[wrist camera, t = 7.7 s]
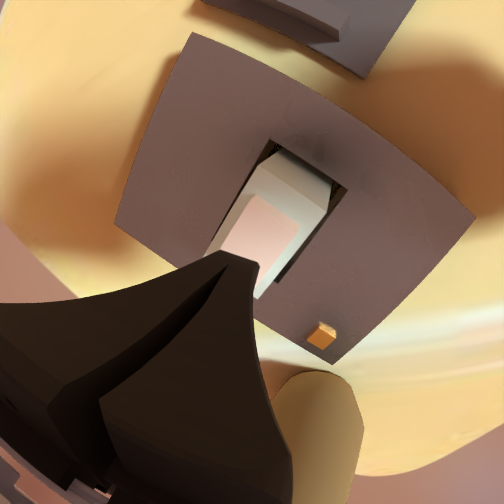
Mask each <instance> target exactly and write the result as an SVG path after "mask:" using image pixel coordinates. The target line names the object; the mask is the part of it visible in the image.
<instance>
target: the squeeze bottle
mask: <svg viewBox="0 0 504 504" xmlns="http://www.w3.org/2000/svg"><path fill="white" fill-rule="evenodd" d="M270 403H271V406H272V408H273V411H274V414H275V417H276V419H277V422H278V424H279V427H280V429H281V432H282V434H283V436H284V438H285V441H286V443H287V445H288V447H289V449H290V452H291V454H292V463H293V498H292V504H346V503H347V499H348V496H349V493H350V488H351V485H352V481H353V477H354V474H355V469H356V465H357V461H358V457H359V452H360V448H361V443H362V438H363V433H364V425H363V420H362V416H361V413H360V411H359V408H358V405H357V402H356V399H355V396H354V394H353V391H352V388H351V386H350V385H349V384H348V383H347V382H346V381H345V380H344V379H343V378H340V377H338V376H336V375H334V374H332V373H326V372H320V371H312V372H302V373H300V374H297V375H295V376H292V377H291V378H290V379H289V380H288V381H287V382H286V383H285V384H284V385H283V386H282V388H281V389H280V390H279V391H278V393H277V394H276V395H275V396H274V397H273V399H272V400H271V401H270Z"/></svg>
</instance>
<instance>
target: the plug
mask: <svg viewBox="0 0 504 504" xmlns="http://www.w3.org/2000/svg"><path fill="white" fill-rule="evenodd" d="M331 185H332V178H330V177H329V176H327V175H326V174H324V173H323V172H321V171H320V170H318V169H317V168H315V167H314V166H312V165H311V164H309V163H308V162H306V161H305V160H303V159H302V158H300V157H299V156H297V155H295V154H294V153H292V152H291V151H289V150H287V149H286V148H284V147H283V148H282V149H281V150H279V151H278V152H276V153H275V154H273V155H272V156H270V157H269V158H268V159H266V160H265V161H263V162H262V163H261V164H259V165H258V166H257V168H256V170H255V171H254V173H253V174H252V176H251V178H250V179H249V181H248V183H247V184H246V186H245V187H244V189H243V191H242V192H241V194H240V196H239V197H238V199H237V201H236V202H235V204H234V205H233V207H232V209H231V210H230V212H229V214H228V215H227V217H226V219H225V220H224V222H223V224H222V225H221V227H220V229H219V231H218V232H217V234H216V236H215V237H214V239H213V241H212V242H211V244H210V246H209V248H208V249H207V251H206V253H205V254H204V256H203V257H205V256H207V255H209V254H211V253H214V252H216V251H218V250H223V251H226V252H229V253H232V254H235V255H238V256H241V257H244V258H247V259H250V260H253V261H256V262H258V263H259V265H260V269H259V273H258V277H257V281H256V284H255V288H254V292H253V297H255V298H256V299H258V298H259V297H260V296H261V295H262V294H263V292H264V291H265V290H266V289H267V287H268V286H269V285H270V284H271V282H272V281H273V280H274V279H275V277H276V276H277V275H278V274H279V272H280V271H281V270H282V269H283V267H284V266H285V265H286V264H287V262H288V261H289V260H290V259H291V257H292V256H293V255H294V254H295V252H296V251H297V250H298V249H299V247H300V246H301V245H302V243H303V242H304V241H305V240H306V238H307V237H308V236H309V235H310V233H311V232H312V231H313V229H314V228H315V227H316V226H317V224H318V223H319V222H320V220H321V219H322V218H323V216H324V215H325V214H326V213H327V208H328V203H329V197H330V191H331Z"/></svg>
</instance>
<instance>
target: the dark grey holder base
mask: <svg viewBox="0 0 504 504" xmlns="http://www.w3.org/2000/svg"><path fill="white" fill-rule="evenodd" d="M201 1H203V2H204V3H207V4H210V5H213V6H216V7H219V8H222V9H224V10H227V11H230V12H232V13H235V14H238V15H240V16H243V17H245V18H248V19H250V20H252V21H255V22H257V23H259V24H262V25H264V26H266V27H268V28H271V29H273V30H275V31H277V32H279V33H281V34H283V35H285V36H288V37H290V38H292V39H294V40H296V41H298V42H299V43H301V44H303V45H305V46H307V47H309V48H311V49H313V50H315V51H316V52H318V53H320V54H322V55H324V56H325V57H327V58H329V59H331V60H332V61H334V62H336V63H337V64H339V65H341V66H342V67H344V68H346V69H347V70H349V71H350V72H352V73H354V74H355V75H357V76H358V77H360V78H361V79H363V80H364V79H365V78H366V76H367V74H368V73H369V71H370V70H371V68H372V67H373V65H374V64H375V62H376V61H377V59H378V58H379V56H380V55H381V53H382V52H383V50H384V49H385V47H386V46H387V44H388V43H389V41H390V40H391V38H392V36H393V35H394V33H395V32H396V30H397V29H398V27H399V26H400V24H401V23H402V21H403V20H404V18H405V17H406V15H407V14H408V12H409V11H410V9H411V8H412V6H413V5H414V3H415V2H416V0H201Z"/></svg>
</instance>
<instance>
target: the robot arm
mask: <svg viewBox="0 0 504 504" xmlns="http://www.w3.org/2000/svg"><path fill="white" fill-rule="evenodd" d="M259 269H260V265H259V263H258V262H256V261H253V260H250V259H247V258H244V257H241V256H238V255H235V254H232V253H229V252H226V251H223V250H218V251H216V252H214V253H211V254H209V255H207V256H205V257H203V258H201V259H199V260H197V261H195V262H192V263H190V264H188V265H186V266H184V267H181V268H179V269H177V270H175V271H172V272H170V273H167V274H165V275H162V276H160V277H157V278H154V279H152V280H149V281H147V282H144V283H141V284H138V285H135V286H132V287H128V288H124V289H121V290H117V291H113V292H109V293H105V294H100V295H95V296H90V297H84V298H79V299H73V300H65V301H57V302H44V303H0V446H1V447H2V448H3V449H4V450H5V451H6V452H8V454H10V455H11V456H12V457H13V458H14V459H15V460H16V461H17V462H18V463H20V464H21V465H22V466H23V467H24V468H25V469H27V470H28V471H29V472H30V473H31V474H33V475H34V476H35V477H36V478H37V479H39V480H40V481H41V482H42V483H44V484H45V485H46V486H48V487H49V488H50V489H52V490H53V491H54V492H56V493H57V494H58V495H60V496H61V497H63V498H64V499H65V500H67V501H69V502H70V503H71V504H292V498H293V463H292V454H291V452H290V449H289V447H288V445H287V443H286V441H285V438H284V436H283V434H282V432H281V429H280V427H279V424H278V422H277V419H276V417H275V414H274V411H273V408H272V406H271V403H270V400H269V397H268V393H267V390H266V386H265V383H264V379H263V375H262V372H261V368H260V363H259V358H258V353H257V347H256V341H255V332H254V320H253V292H254V288H255V284H256V281H257V277H258V273H259ZM19 478H20V474H19V473H18V472H17V471H16V470H15V469H14V468H13V467H12V466H11V465H10V464H9V463H8V462H6V461H5V460H4V459H3V458H2V457H1V456H0V504H38V503H37V502H35V501H34V500H33V499H31V498H30V497H29V496H28V495H26V494H25V493H24V492H23V491H22V490H20V489H19V488H18V487H17V486H16V485H15V483H16V482H17V480H18V479H19ZM94 488H96V489H98V490H100V491H101V492H103V493H105V494H106V493H108V494H110V495H112V496H111V498H110V499H109V498H107V497H105V496H103V495H101V494H100V493H98V492H97V491H95V490H94Z"/></svg>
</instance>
